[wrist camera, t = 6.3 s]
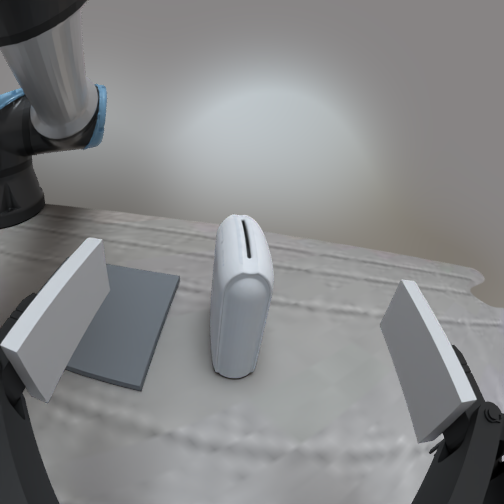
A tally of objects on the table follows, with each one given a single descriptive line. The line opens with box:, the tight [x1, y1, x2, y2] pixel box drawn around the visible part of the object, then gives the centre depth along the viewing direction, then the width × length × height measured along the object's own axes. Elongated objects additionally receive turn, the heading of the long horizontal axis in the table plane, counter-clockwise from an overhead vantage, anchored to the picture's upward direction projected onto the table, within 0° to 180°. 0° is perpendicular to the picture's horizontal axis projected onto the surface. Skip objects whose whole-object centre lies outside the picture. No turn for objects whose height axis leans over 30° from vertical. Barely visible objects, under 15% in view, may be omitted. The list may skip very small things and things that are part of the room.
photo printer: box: [210, 214, 274, 378], centre depth 27 cm, size 10×4×12 cm, turn 6°
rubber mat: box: [37, 257, 180, 391], centre depth 29 cm, size 16×16×1 cm
